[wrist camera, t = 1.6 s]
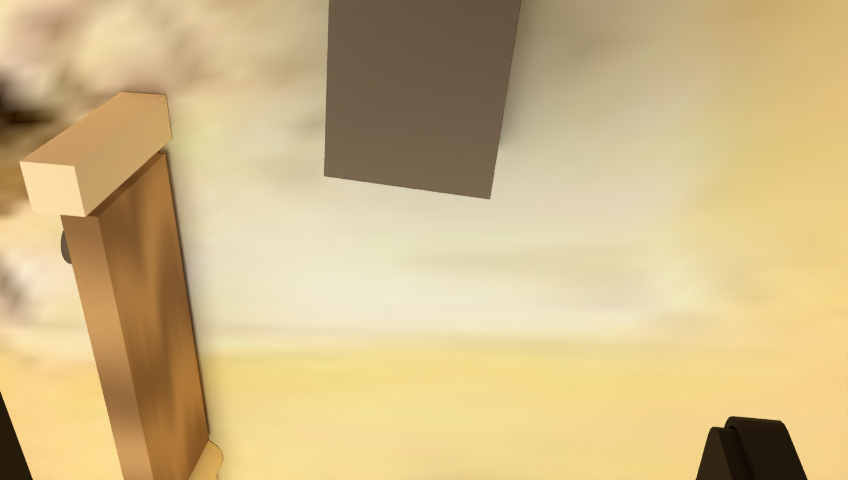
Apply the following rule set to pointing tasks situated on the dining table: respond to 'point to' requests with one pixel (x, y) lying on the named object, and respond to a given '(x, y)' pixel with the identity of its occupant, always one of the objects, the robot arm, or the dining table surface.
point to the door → (140, 324)
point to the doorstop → (418, 91)
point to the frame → (103, 175)
